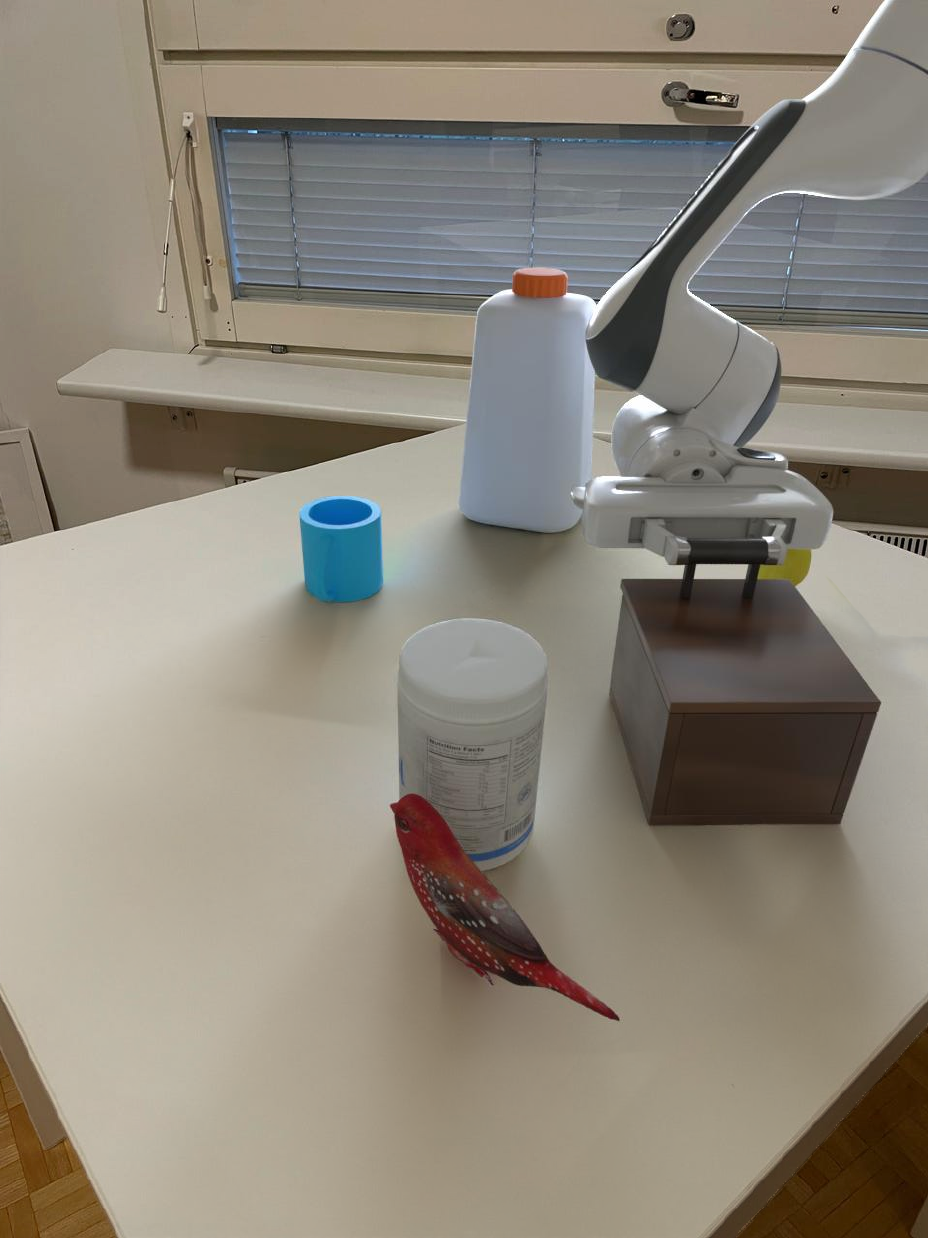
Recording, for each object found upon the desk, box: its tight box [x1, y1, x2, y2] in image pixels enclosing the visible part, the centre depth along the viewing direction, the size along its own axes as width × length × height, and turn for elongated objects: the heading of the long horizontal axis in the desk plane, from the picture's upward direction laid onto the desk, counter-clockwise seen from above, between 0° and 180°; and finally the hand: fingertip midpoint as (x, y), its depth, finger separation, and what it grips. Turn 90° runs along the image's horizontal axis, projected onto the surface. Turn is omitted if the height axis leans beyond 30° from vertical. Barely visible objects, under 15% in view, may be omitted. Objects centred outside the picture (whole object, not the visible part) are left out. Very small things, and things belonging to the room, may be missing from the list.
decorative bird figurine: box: [389, 793, 621, 1022], centre depth 48 cm, size 3×18×10 cm, turn 43°
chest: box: [608, 593, 878, 826], centre depth 67 cm, size 16×14×10 cm
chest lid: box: [619, 538, 882, 713], centre depth 63 cm, size 17×14×6 cm
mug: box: [298, 495, 384, 603], centre depth 88 cm, size 12×8×8 cm
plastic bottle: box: [458, 267, 597, 534], centre depth 102 cm, size 15×15×28 cm
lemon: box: [757, 549, 812, 587], centre depth 90 cm, size 7×6×10 cm
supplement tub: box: [396, 617, 549, 872], centre depth 58 cm, size 10×10×15 cm
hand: (729, 557), depth 66 cm, fingers closed on chest lid, 6 cm apart
